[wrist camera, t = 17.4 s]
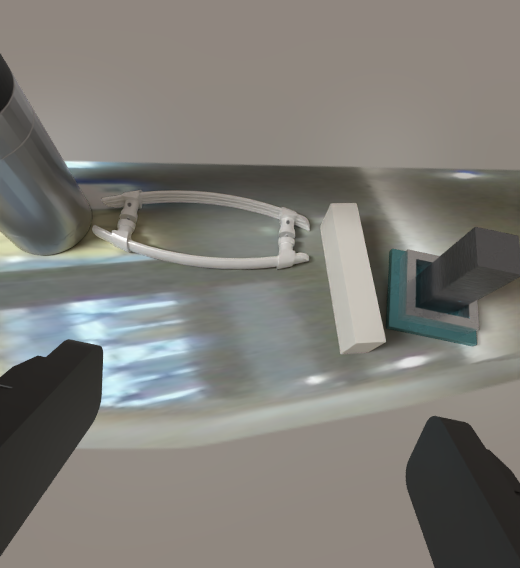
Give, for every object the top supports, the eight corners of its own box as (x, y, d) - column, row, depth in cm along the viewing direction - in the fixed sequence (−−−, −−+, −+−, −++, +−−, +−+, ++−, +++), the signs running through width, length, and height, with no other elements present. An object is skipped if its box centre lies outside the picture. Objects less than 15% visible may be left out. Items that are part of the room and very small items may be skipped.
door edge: (367, 352, 39) (386, 341, 35) (340, 354, 39) (356, 343, 34) (343, 226, 45) (356, 203, 41) (320, 227, 45) (330, 203, 40)
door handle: (112, 189, 45) (309, 212, 46) (91, 259, 41) (307, 282, 42) (105, 175, 43) (313, 199, 44) (83, 248, 39) (312, 272, 40)
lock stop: (415, 307, 41) (477, 265, 31) (416, 276, 43) (475, 226, 33) (449, 314, 41) (523, 275, 31) (448, 283, 43) (518, 235, 33)
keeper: (385, 328, 41) (396, 320, 38) (389, 251, 45) (399, 240, 42) (472, 346, 41) (489, 340, 38) (468, 268, 45) (483, 258, 42)
